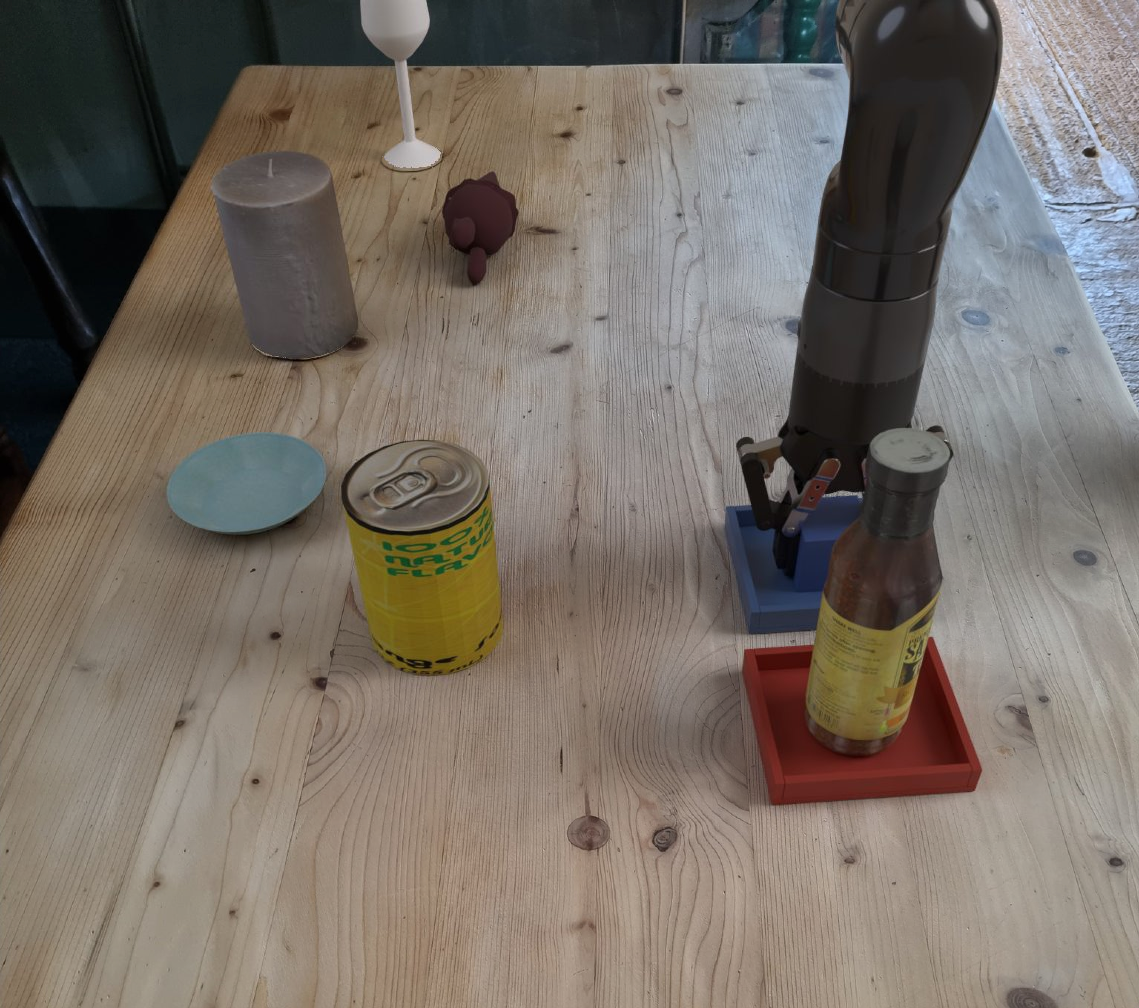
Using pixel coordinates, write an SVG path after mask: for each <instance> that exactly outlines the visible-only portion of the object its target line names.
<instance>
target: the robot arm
mask: <svg viewBox="0 0 1139 1008" xmlns="http://www.w3.org/2000/svg"><path fill="white" fill-rule="evenodd" d="M835 14H836V15H835V27H834V30H835V41H836V45H837V49H838V52H839V53H838V54H839V55H840V59H841V62H842V64H843V66H844V70H845V72H846V75H847V79H848V81H849V86H848V91H849V92H848V107H847V115H846V116H847V118H846V125H845V131H844V135H843V143H842V148H841V154H840V160H839V161H838V162H837V163H836V164H835V165H834V166H832V167H833V168H832V169H831V170H830V172H829V174H828V176H827V179H826V182H825V185H824V188H823V190H822V196H821V199H820V207H819V213H818V214H819V215H818V218H817V226H816V232H815V239H814V241H815V242H814V247H813V248H814V249H813V255H812V265H811V269H810V275H809V279H808V281H807V282H808V283H807V286H806V289H805V292H804V293H805V294H804V297H803V301H802V306H801V313H800V318H799V321H798V322H797V330H796V336H797V345H796V354H795V359H794V360H795V361H794V367H793V376H792V385H791V389H790V400H789V406H788V407H789V408H788V415H787V417H786V419H785V422H784V424H783V425H781V428H780V429H779V431H778V433H777V436H775V437H772V438H768V439H765V440H762V441H758V442H755V440H754V438H753V437H750V436H743V437H740V438H739V439H738V440H737V442H736V444H735V448H736V453H737V456H738V460H739V464H740V469H741V473H742V476H743V480H744V484H745V488H746V491H747V495H748V500H749V503H750V505H751V507H752V511H753V515H754V519H755V523H756V526H757V528H758V529H759V530H761V531H767V530H770V529H775V533H774V541H773V548H772V552H773V556H774V559H775V563H776V566H777V568H778V569H783V573H784V576H794V575H795V569H796V562H797V556H798V549H799V542H800V534H799V532H800V530H801V528H802V526H803V524H804V522H805V520H806V518H807V517H808V515H809V513H810V512H812V513H813V512H814V511H815V509H816V507H817V506H818V504H819V502H820V500H821V498H822V497H824V495H831V494H834V493H839V492H847V493H861V498H863V496H864V492H865V485H866V480H867V476H866V473H865V463H866V459H867V453H868V449H869V445H870V443H871V441H872V440H873V439H874V437H875V436H877V435H879V434H880V433H882V432H885V431H887V430H891V429H896V428H913V425H912V419H913V417H914V413H915V409H916V405H917V400H918V395H919V391H920V386H921V382H922V377H923V373H924V368H925V364H926V360H927V354H928V350H929V345H930V341H931V336H932V331H933V327H934V322H935V318H936V310H937V295H938V294H937V293H938V284H939V277H940V273H941V269H942V264H943V259H944V254H945V251H946V245H947V241H948V237H949V232H950V228H951V221H952V215H953V207H954V202H955V199H956V197H957V194H958V193H959V190H960V189H961V187H962V185H963V182H965V181H964V180H965V178H966V176H967V174H968V172H969V170H970V167H971V164H972V162H973V159H974V156H975V154H976V152H977V149H978V147H979V145H980V144H979V143H980V142H981V139H982V137H983V134H984V131H985V129H986V126H987V123H988V120H989V117H990V115H991V111H992V109H993V105H994V102H995V98H996V95H997V90H998V85H999V81H1000V74H1001V71H1002V70H1001V69H1002V61H1003V51H1004V50H1003V49H1004V32H1003V25H1002V20H1001V15H1000V12H999V9H998V7H997V4H996V2H995V0H839V1H838V4H837V8H836V13H835ZM924 431H925V432H928V433H930V434H932V435H934V436H936V437H938V438H940V439H941V440H942V441H943V442H944V443H945V444H946V445H947V446H948V448H949V450H950V461H949V463H950V462H951V460H952V459H953V457H954V451H953V448H952V446H951V443H950V440H949V438H948V436H947V435H946V433H945V430H944V429H943V427H942V426H941V425H938V424H937V425H932V426H930V427H928V428H927V429H926V430H924ZM780 458H783V459H784V460H785V461H786V463H787V464H788V465H789V467H790V470H789V473H788V474H787V478H786V486H785V488H784V490H783V491H782V494H781V496H780V498H779V500H778V501H776V500H772V499H770V497H769V493H768V488H767V484H766V480H767V479H770V478H771V476H772V474H773V472H774V470H775V464H776V461H777V460H778V459H780Z"/></svg>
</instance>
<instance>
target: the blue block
mask: <svg viewBox="0 0 1139 1008" xmlns="http://www.w3.org/2000/svg"><path fill="white" fill-rule="evenodd" d="M859 498H860V497H859V495H858V494H852V495H834V496H822V498H821V500H820V502H819V504H818V506H817V507H816V509H815V511H814V512H813V513H812V512H810V513H809V515H808V517H807V518H806V520H805V522H804V524H803V526H802V528H801V530H800V532H799V534H800V542H799V549H798V556H797V562H796V569H795V575H794V576H793V580H794V583H795V587H796V591H797V592H810V591H823V588H824V585H825V582H826V580H827V577H828V570H829V561H830V556H831V552H832V549H833V547H834V544H835V542H836V541H837V539H838V538H839V536H840V535H841V534H842V533H843V531H844V530H845V529H846V528H847V527H848V526H849V525H850V524H852V523H853V521H855V520H856V519H857V518H858V517H860V516H859V506H860V501H859Z"/></svg>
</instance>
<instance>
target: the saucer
mask: <svg viewBox="0 0 1139 1008" xmlns="http://www.w3.org/2000/svg"><path fill="white" fill-rule="evenodd" d="M326 480H327V465H326V462H325V459H324V457H323V456H322V454H321V453H320V451H318V449H316V448H315V447H314V446H312V445H311V444H310V443H309V442H307V441H305V440H303V439H301V438H298V437H296V436H292V435H289V434H285V433H278V432H267V431H259V432H248V433H241V434H236V435H232V436H227V437H224V438H221V439H218V440H215V441H212V442H210V443H208V444H206V445H204V446H202V447H200V448H198V449H196V450H195V451H193V452H192V453H190V454H189V455H188V456H187V457H185V458H184V459H183V460H182V461H181V462H180V463H179V464H178V465H177V466H176V468H175V469H174V470H173V471H172V473H171V475H170V477H169V479H168V483H167V487H166V499H167V503H168V505H169V507H170V509H171V510H172V512H173V513H174V514H175V515H176V516H177V517H178V518H179V519H181V520H182V521H184V522H186V523H187V524H189V525H191V526H194V527H195V528H199V529H201V530H204V531H208V532H212V533H216V534H217V533H218V534H223V535H233V536H234V535H235V536H237V535H238V536H240V535H253V534H259V533H263V532H266V531H269V530H270V531H271V530H273V529H275V528H278V527H280V526H283V525H284V524H286V523H288V522H289V521H291V520H293V519H294V518H296V517H297V516H298V515H301V513H302V512H304V511H305V510H306V509H307V508H308V507H309V506H311V504H313V502H314V501H316V499H317V498H318V496H319V495H320V494H321V492H322V490H323V488H324V486H325V483H326Z"/></svg>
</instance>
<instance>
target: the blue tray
mask: <svg viewBox="0 0 1139 1008" xmlns="http://www.w3.org/2000/svg"><path fill="white" fill-rule="evenodd" d="M858 498H859V501H860V504H861V502H862V501H863V497H858ZM723 528H724V532H725V533H724V534H725V537H726V541H727V546H728V550H729V554H730V559H731V563H732V567H733V571H734V576H735V580H736V585H737V589H738V593H739V598H740V602H741V606H742V610H743V615H744V619H745V623H746V627H747V632H748V635H759V634H773V633H788V632H789V633H791V632H803V631H804V632H805V631H816V629H817V623H818V617H819V611H820V605H821V599H822V593H823V591H810V592H797V591H796V587H795V583H794V580H793V576H784V573H783V569H778V568H777V566H776V563H775V559H774V556H773V552H772V548H773V541H774V533H775V529H770V530H767V531H761V530H759V529H758V528H757V526H756V523H755V519H754V515H753V511H752V507H751V504H745V505H744V504H743V505H742V504H741V505H726V506H725V516H724V527H723Z"/></svg>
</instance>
